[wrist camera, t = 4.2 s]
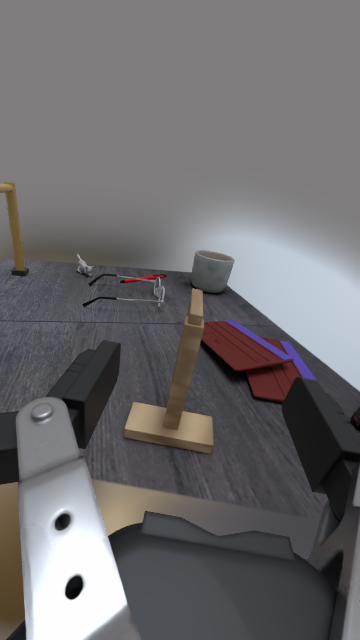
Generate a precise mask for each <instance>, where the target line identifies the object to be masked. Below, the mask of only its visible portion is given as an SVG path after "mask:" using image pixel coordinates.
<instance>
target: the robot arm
mask: <svg viewBox="0 0 360 640" xmlns="http://www.w3.org/2000/svg"><path fill="white" fill-rule="evenodd" d="M120 349H121V345H120V343H116V342H111V341H105V340H103V341H102V342H101V343H100V345H99V346H98V348H97V349H96V350H92V349H88V350H86V351H84V352H83V353H81V354H79V355H78V356H77V358H76V359H75V360H74V361H73V363H72V364H71V365H70V366H69V368H68V369H67V371H65V373H64V374H63V375H62V376H61V378H60V379H59V380H58V382H57V383H56V384H55V385H54V387H53V388H52V389H51V390H50V392H49V393H48V394H47V395H46V397H44V398H39V399H36V400H34V401H31V402H30V403H28V404H26V405H25V406H24V407H23V408H22V409H21V410H20V411H16V412H7V413H0V485H1V484H7V483H13V482H18V501H19V519H20V535H21V552H22V569H23V586H24V603H25V620H24V621H23V622H22V623H21V624H20V626H19V627H18V628H17V629H16V630H15V631H14V632H13V633H12V634H11V635H10V636H9V637H8V638H7V639H6V640H360V436H359V434H358V433H357V431H356V430H355V428H354V427H353V425H352V424H350V421H349V419H348V418H347V416H345V415H344V412H343V411H342V409H341V408H340V406H339V405H338V403H337V402H336V401H334V400H333V399H332V398H331V397H330V396H329V395H328V394H327V393H325V392H324V391H323V389H322V388H321V386H320V385H319V383H318V382H317V381H316V380H313V379H308V378H302V377H296V378H295V379H294V381H293V383H292V385H291V387H290V389H289V391H288V393H287V395H286V397H285V399H284V402H283V405H282V413H283V417H284V419H285V422H286V424H287V427H288V430H289V432H290V435H291V437H292V440H293V443H294V445H295V448H296V450H297V453H298V455H299V458H300V461H301V463H302V466H303V468H304V471H305V474H306V476H307V479H308V481H309V484H310V486H311V489H312V492H317V493H323V494H326V495H327V497H328V499H329V500H328V501H327V502H326V504H325V506H324V509H323V513H322V516H321V520H320V523H319V527H318V530H317V534H316V537H315V541H314V545H313V548H312V551H311V553H310V556H309V558H308V559H307V561H306V560H305V559H303V558H301V557H300V556H299V555H297V554H296V553H294V552H293V549H292V546H291V542H290V538H289V537H286V536H281V535H275V534H270V533H264V532H259V531H249V532H242V533H236V534H230V535H224V536H217V535H214V534H212V533H210V532H208V531H206V530H204V529H202V528H200V527H198V526H197V525H194V524H192V523H191V522H189V521H187V520H185V519H183V518H181V517H176V516H170V515H164V514H159V513H154V512H148V511H145V514H144V519H143V523H138V524H133V525H129V526H126V527H124V528H122V529H120V530H117V531H115V532H114V533H112V534H111V535H109V536H108V535H107V532H106V529H105V525H104V522H103V518H102V515H101V511H100V508H99V505H98V501H97V498H96V494H95V491H94V488H93V484H92V481H91V477H90V474H89V470H88V467H87V464H86V461H85V458H84V457H83V456H81V455H80V452H79V449H78V448H82V449H86V446H87V444H88V442H89V440H90V438H91V436H92V434H93V431H94V429H95V427H96V425H97V423H98V421H99V419H100V416H101V414H102V412H103V410H104V408H105V406H106V404H107V401H108V399H109V397H110V395H111V393H112V391H113V389H114V386H115V384H116V382H117V378H118V374H119V364H120Z"/></svg>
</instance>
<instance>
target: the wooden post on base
mask: <svg viewBox="0 0 360 640" xmlns="http://www.w3.org/2000/svg"><path fill="white" fill-rule="evenodd" d="M203 330H204V320H203V291H202V290H199V289H192V293H191V297H190V302H189V307H188V311H187V316H186V317H185V321H184V325H183V330H182V335H181V340H180V344H179V349H178V354H177V359H176V364H175V368H174V373H173V378H172V383H171V387H170V392H169V397H168V402H167V406H166V408H163V407H158V406H153V405H148V404H142V403H137V402H133V405H132V408H131V411H130V414H129V417H128V420H127V423H126V426H125V430H124V438H130V439H135V440H140V441H146V442H151V443H156V444H161V445H167V446H172V447H177V448H182V449H188V450H193V451H198V452H203V453H209V454H211V451H212V448H213V446H214V443H213V424H212V417H210V416H205V415H200V414H195V413H189V412H184V411H183V409H184V405H185V401H186V397H187V393H188V389H189V385H190V381H191V377H192V373H193V369H194V366H195V362H196V358H197V354H198V350H199V346H200V342H201V338H202V334H203Z"/></svg>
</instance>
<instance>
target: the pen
mask: <svg viewBox="0 0 360 640" xmlns="http://www.w3.org/2000/svg"><path fill="white" fill-rule="evenodd" d="M165 276H167V275H164V274H161V275H153V276H150V277H142V278H139V279H146V280H148V279H156V278H157V277H159V278H163V277H165ZM134 281H141V280H137V279H126V280H122V281H120V282H121V283H127V282H134Z"/></svg>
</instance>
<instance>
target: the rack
mask: <svg viewBox="0 0 360 640" xmlns="http://www.w3.org/2000/svg"><path fill="white" fill-rule="evenodd" d="M2 192H5V194H6V201H7V209H8V216H9V224H10V231H11V238H12V246H13V254H14V261H15V268H14V269H13V270H12V275H20V276H26V275H27V274H28V273H29V269H28V268H25V267H24V258H23V251H22V241H21V233H20V224H19V217H18V216H19V215H18V206H17V198H16V189H15V183H14V182H8V181H4V184H0V193H2Z"/></svg>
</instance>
